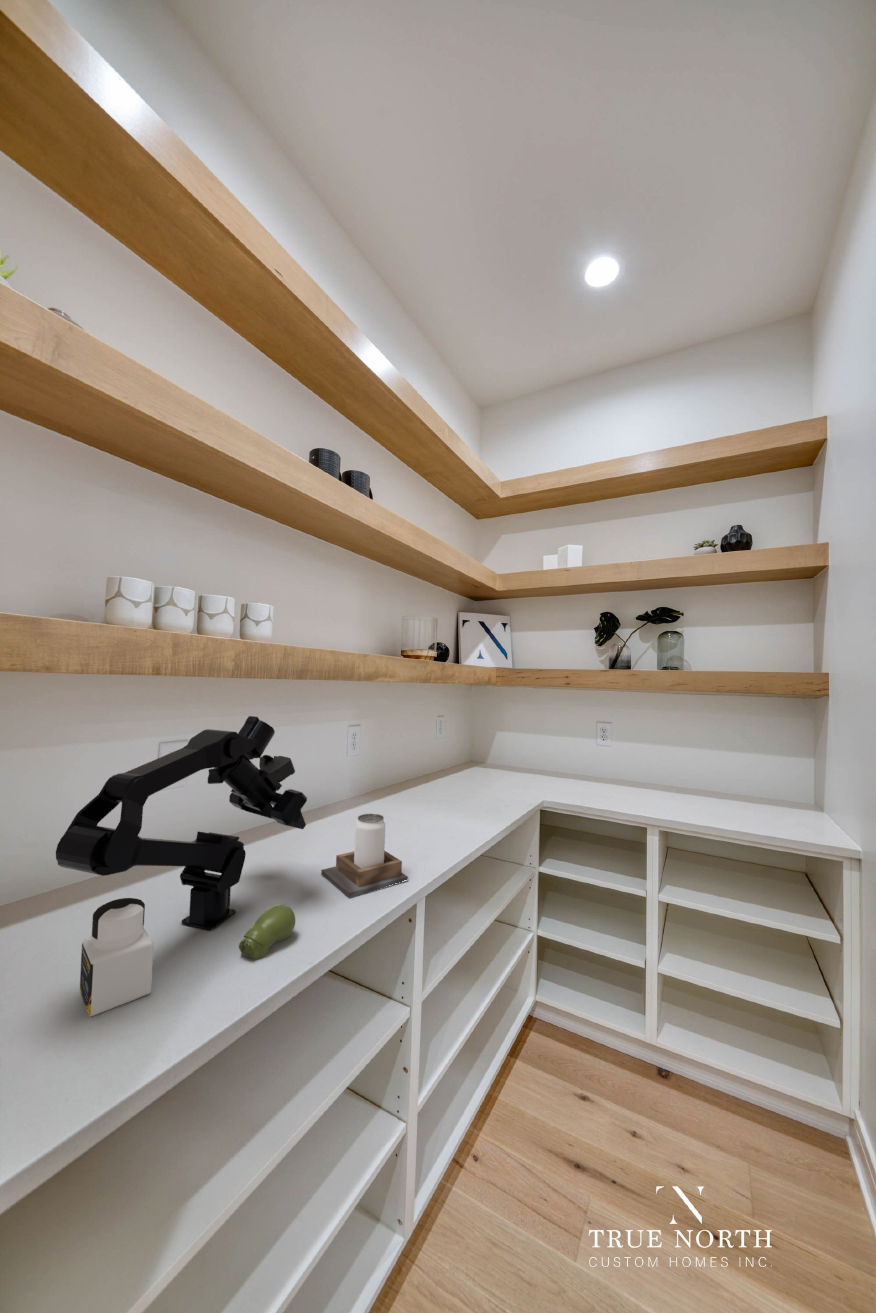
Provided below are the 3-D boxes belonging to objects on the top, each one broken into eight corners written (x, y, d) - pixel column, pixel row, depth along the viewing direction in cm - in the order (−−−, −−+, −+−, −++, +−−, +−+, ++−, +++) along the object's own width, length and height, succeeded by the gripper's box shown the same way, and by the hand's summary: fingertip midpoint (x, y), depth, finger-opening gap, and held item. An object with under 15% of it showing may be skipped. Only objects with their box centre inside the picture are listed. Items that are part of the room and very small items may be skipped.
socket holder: (349, 898, 97) (349, 877, 97) (321, 874, 107) (322, 855, 107) (407, 881, 105) (408, 862, 105) (376, 860, 115) (377, 843, 115)
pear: (301, 903, 83) (255, 941, 74) (303, 931, 83) (258, 973, 75) (276, 895, 85) (229, 931, 76) (278, 922, 86) (232, 962, 77)
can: (374, 881, 102) (376, 823, 102) (347, 875, 104) (350, 819, 105) (388, 870, 108) (390, 815, 108) (362, 864, 110) (365, 811, 111)
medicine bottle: (79, 990, 67) (83, 902, 68) (138, 969, 72) (142, 887, 72) (88, 1018, 62) (93, 923, 62) (151, 993, 67) (156, 905, 67)
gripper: (301, 751, 93) (342, 798, 102) (245, 739, 104) (286, 782, 113) (262, 801, 87) (310, 846, 95) (207, 782, 98) (254, 825, 106)
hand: (289, 822), depth 103 cm, fingers open, 9 cm apart
